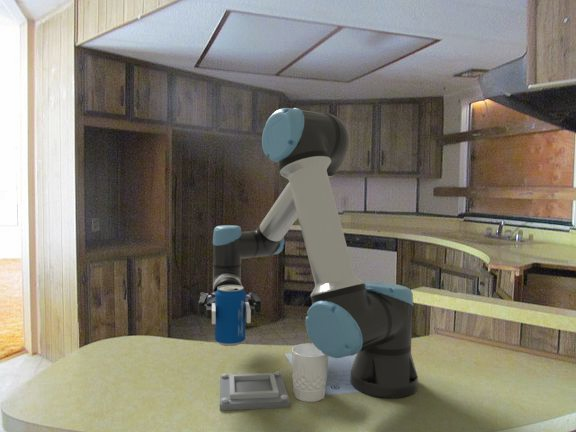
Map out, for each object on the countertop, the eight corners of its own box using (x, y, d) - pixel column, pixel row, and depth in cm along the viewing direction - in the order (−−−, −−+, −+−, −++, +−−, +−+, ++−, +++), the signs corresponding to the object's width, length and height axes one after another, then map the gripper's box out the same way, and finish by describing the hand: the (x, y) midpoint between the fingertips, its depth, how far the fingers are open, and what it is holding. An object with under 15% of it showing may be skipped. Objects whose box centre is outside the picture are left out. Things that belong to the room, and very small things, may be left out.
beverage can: (230, 349, 97) (231, 292, 96) (208, 343, 101) (208, 288, 100) (251, 341, 102) (251, 287, 102) (229, 335, 106) (229, 283, 105)
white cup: (302, 406, 96) (303, 358, 95) (284, 391, 103) (285, 346, 102) (334, 399, 100) (335, 352, 99) (315, 384, 107) (316, 341, 106)
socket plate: (281, 378, 110) (281, 369, 109) (289, 407, 96) (289, 396, 96) (220, 380, 108) (220, 371, 107) (219, 410, 94) (219, 399, 94)
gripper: (266, 304, 121) (278, 333, 98) (188, 307, 118) (182, 336, 95) (266, 275, 120) (278, 297, 97) (188, 277, 117) (182, 300, 94)
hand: (231, 317), depth 96 cm, fingers closed on beverage can, 6 cm apart
